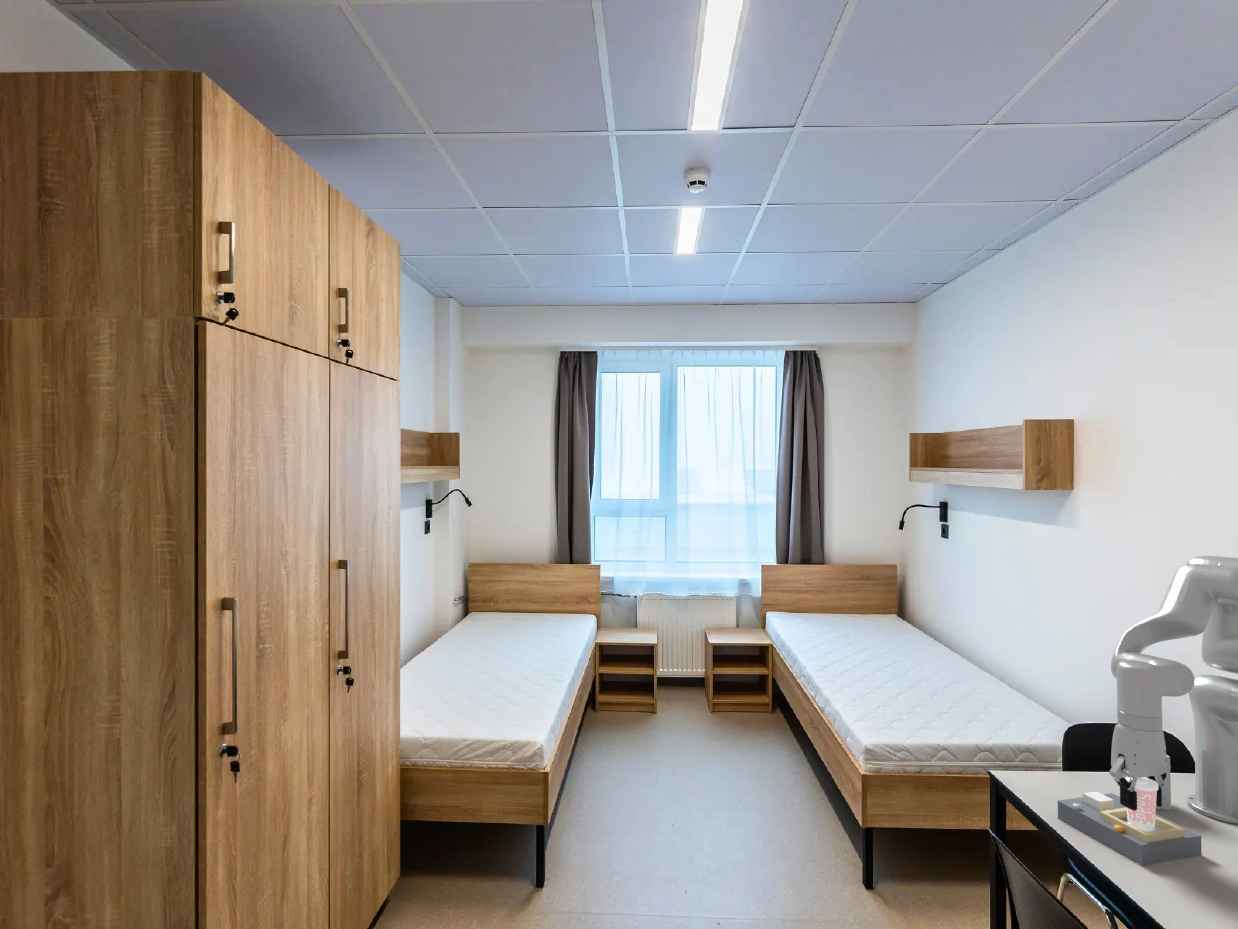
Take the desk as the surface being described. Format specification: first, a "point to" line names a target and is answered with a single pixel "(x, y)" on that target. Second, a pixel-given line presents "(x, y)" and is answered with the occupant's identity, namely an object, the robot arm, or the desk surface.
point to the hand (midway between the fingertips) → (1140, 804)
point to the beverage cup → (1144, 803)
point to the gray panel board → (1131, 832)
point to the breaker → (1098, 801)
